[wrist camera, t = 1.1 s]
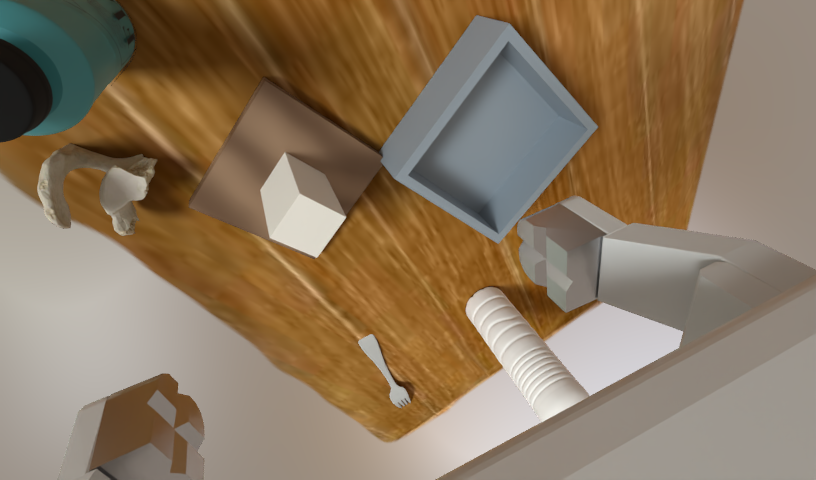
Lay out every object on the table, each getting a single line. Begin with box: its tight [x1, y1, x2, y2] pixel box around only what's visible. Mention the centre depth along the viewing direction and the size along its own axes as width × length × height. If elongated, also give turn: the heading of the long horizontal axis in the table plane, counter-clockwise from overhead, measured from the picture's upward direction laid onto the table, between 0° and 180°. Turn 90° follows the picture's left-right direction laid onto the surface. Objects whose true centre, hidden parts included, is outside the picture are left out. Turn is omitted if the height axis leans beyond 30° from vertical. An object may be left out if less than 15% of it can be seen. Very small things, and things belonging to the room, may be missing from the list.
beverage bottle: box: [0, 0, 137, 142], centre depth 24 cm, size 6×7×20 cm
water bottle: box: [466, 287, 589, 422], centre depth 57 cm, size 9×6×25 cm
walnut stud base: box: [189, 77, 383, 259], centre depth 42 cm, size 14×14×5 cm
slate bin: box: [379, 15, 598, 244], centre depth 46 cm, size 17×17×6 cm
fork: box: [358, 334, 411, 408], centre depth 67 cm, size 3×21×3 cm, turn 17°
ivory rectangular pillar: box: [260, 152, 346, 258], centre depth 39 cm, size 5×5×9 cm
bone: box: [37, 144, 157, 236], centre depth 35 cm, size 9×6×10 cm
